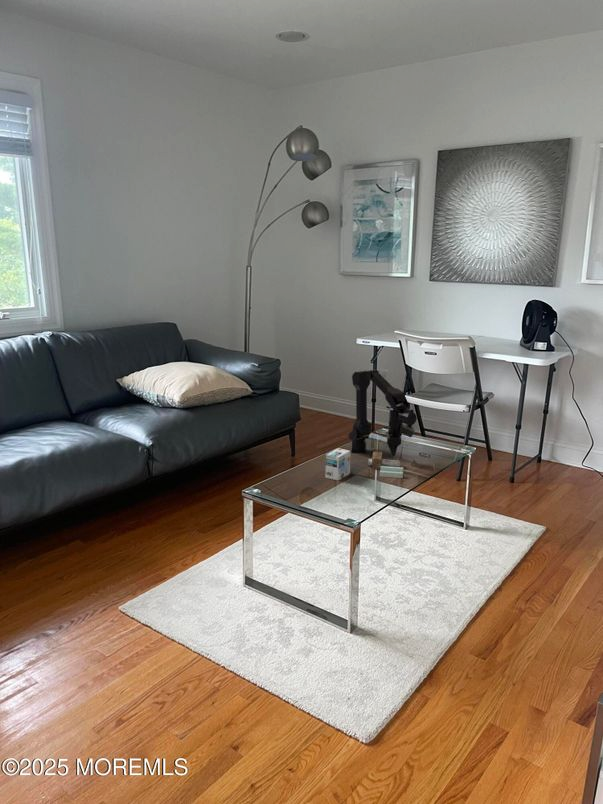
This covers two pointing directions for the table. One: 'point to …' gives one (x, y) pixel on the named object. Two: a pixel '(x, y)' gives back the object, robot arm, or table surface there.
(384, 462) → the axle
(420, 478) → the table surface
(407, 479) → the table surface
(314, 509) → the table surface
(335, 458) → the light bulb box
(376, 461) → the bearing block
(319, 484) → the table surface
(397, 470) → the cradle
